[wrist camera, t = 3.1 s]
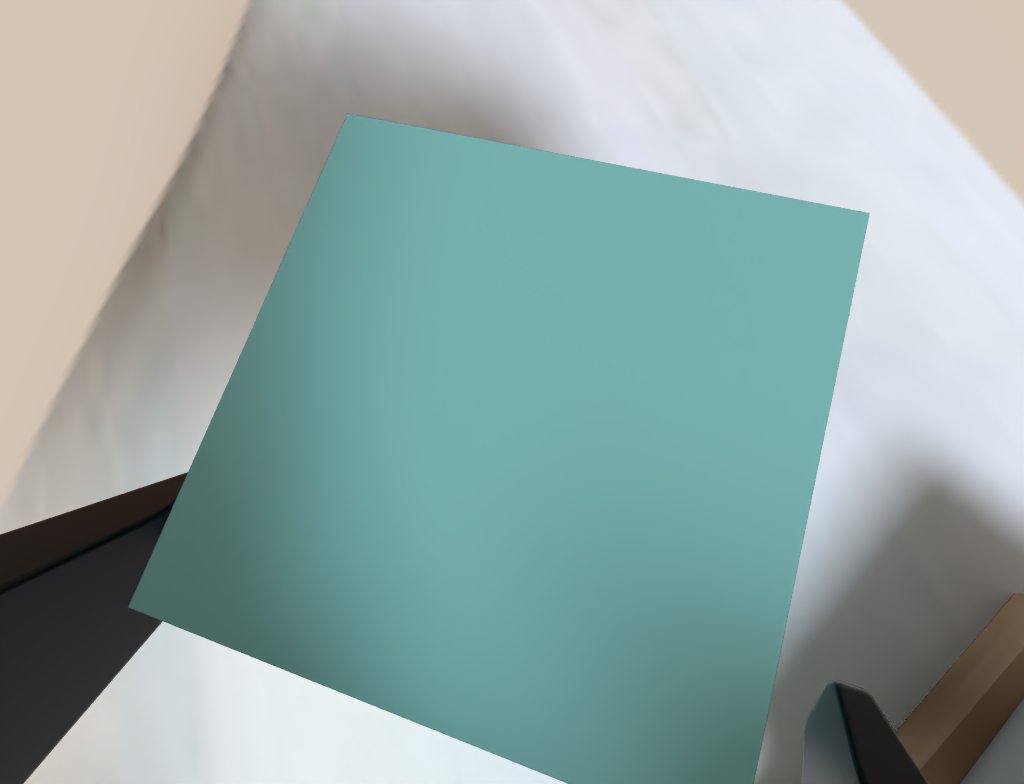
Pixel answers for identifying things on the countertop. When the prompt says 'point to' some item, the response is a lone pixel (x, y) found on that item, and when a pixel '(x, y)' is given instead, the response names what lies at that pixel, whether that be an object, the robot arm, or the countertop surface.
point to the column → (524, 453)
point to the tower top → (1002, 755)
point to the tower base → (970, 700)
